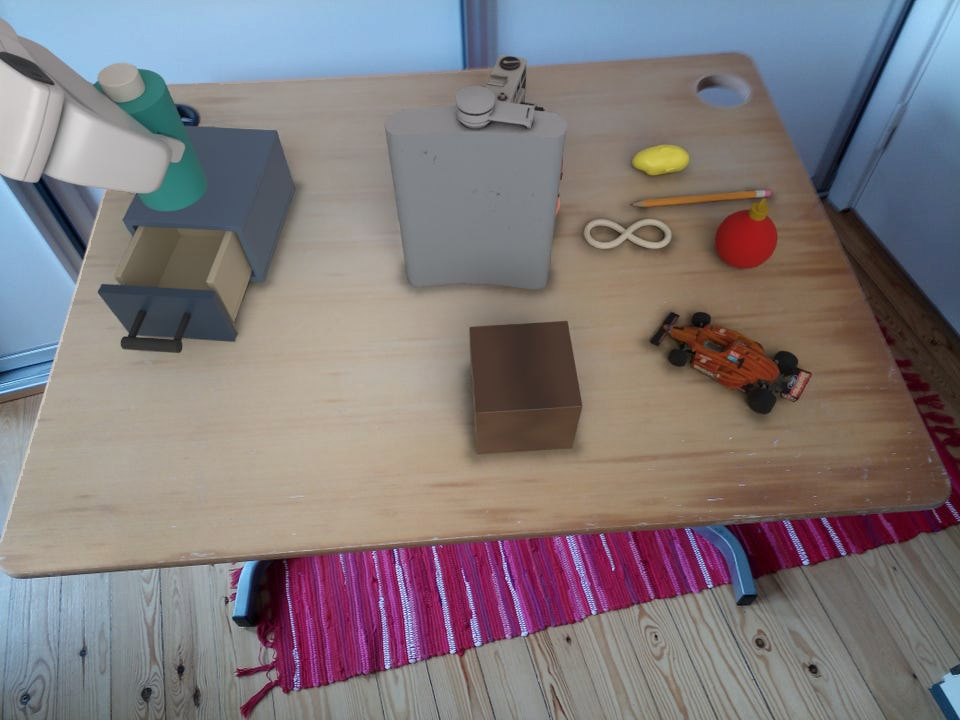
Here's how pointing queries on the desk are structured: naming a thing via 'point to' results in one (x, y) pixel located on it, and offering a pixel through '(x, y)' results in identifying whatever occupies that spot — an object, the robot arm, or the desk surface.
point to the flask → (476, 190)
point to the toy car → (734, 361)
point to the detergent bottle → (156, 112)
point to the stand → (524, 387)
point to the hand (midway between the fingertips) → (153, 130)
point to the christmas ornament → (747, 237)
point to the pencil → (702, 198)
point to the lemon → (661, 159)
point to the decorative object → (627, 233)
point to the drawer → (178, 287)
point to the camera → (510, 80)
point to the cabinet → (233, 192)
